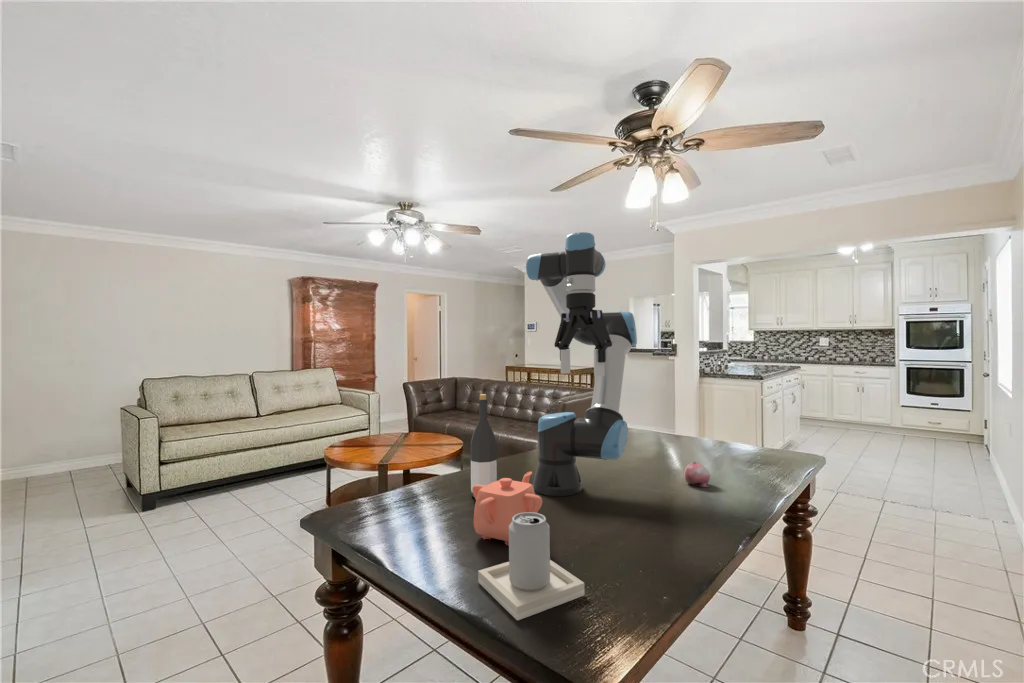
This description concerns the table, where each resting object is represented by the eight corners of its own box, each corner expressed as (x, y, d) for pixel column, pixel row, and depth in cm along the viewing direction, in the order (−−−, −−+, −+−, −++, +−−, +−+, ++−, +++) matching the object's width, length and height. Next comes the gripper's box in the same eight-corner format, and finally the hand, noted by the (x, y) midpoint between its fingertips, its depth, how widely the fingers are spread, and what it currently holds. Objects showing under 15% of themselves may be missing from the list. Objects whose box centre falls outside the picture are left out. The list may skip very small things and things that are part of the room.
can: (547, 596, 78) (546, 526, 78) (505, 592, 80) (504, 523, 80) (552, 574, 85) (551, 511, 86) (513, 571, 87) (513, 508, 87)
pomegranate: (685, 483, 147) (689, 461, 149) (711, 490, 143) (714, 467, 144) (679, 481, 141) (683, 458, 142) (706, 488, 136) (709, 464, 138)
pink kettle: (480, 554, 97) (479, 492, 97) (467, 526, 112) (467, 472, 112) (553, 544, 101) (553, 485, 101) (531, 518, 116) (531, 467, 117)
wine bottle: (477, 501, 130) (476, 396, 130) (465, 493, 136) (465, 394, 137) (502, 496, 134) (501, 394, 134) (489, 489, 141) (488, 392, 141)
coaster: (478, 582, 85) (478, 570, 85) (539, 563, 92) (539, 552, 92) (517, 620, 73) (517, 606, 73) (584, 595, 80) (584, 582, 80)
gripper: (541, 297, 127) (542, 373, 127) (602, 286, 105) (603, 377, 105) (562, 298, 131) (563, 372, 130) (626, 288, 109) (627, 376, 109)
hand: (581, 374), depth 118 cm, fingers open, 13 cm apart
